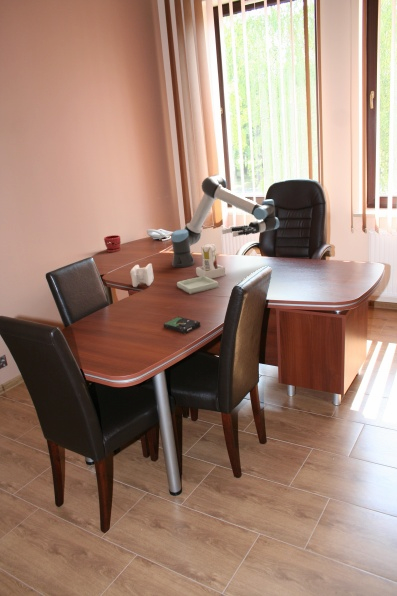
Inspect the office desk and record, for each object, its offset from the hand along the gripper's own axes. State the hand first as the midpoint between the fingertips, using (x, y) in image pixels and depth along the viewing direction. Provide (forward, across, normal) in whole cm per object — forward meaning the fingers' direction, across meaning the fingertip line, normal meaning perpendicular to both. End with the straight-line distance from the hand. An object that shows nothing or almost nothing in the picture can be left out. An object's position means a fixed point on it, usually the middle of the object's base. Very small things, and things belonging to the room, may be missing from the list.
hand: (227, 233), depth 304 cm
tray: (+31, -16, -24) cm, 42 cm away
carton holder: (+14, 0, -24) cm, 28 cm away
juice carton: (+14, 0, -24) cm, 28 cm away
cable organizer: (+54, +14, -24) cm, 61 cm away
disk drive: (+64, -66, -25) cm, 96 cm away
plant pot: (+40, +126, -23) cm, 135 cm away
